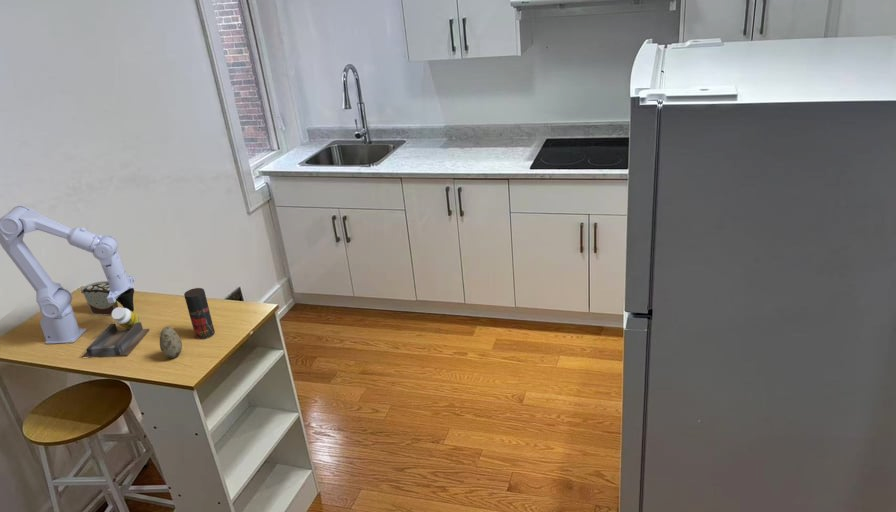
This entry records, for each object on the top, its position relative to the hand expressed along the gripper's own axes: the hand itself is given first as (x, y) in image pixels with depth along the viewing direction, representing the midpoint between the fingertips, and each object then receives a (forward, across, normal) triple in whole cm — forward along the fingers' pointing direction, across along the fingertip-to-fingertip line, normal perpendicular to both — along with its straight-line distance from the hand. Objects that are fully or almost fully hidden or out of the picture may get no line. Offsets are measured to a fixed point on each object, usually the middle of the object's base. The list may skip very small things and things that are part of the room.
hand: (130, 311), depth 213 cm
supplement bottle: (+4, 0, +1) cm, 5 cm away
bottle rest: (+6, -10, +2) cm, 11 cm away
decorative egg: (+7, -18, -20) cm, 28 cm away
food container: (+6, +13, +16) cm, 21 cm away
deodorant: (+8, -6, -25) cm, 27 cm away
